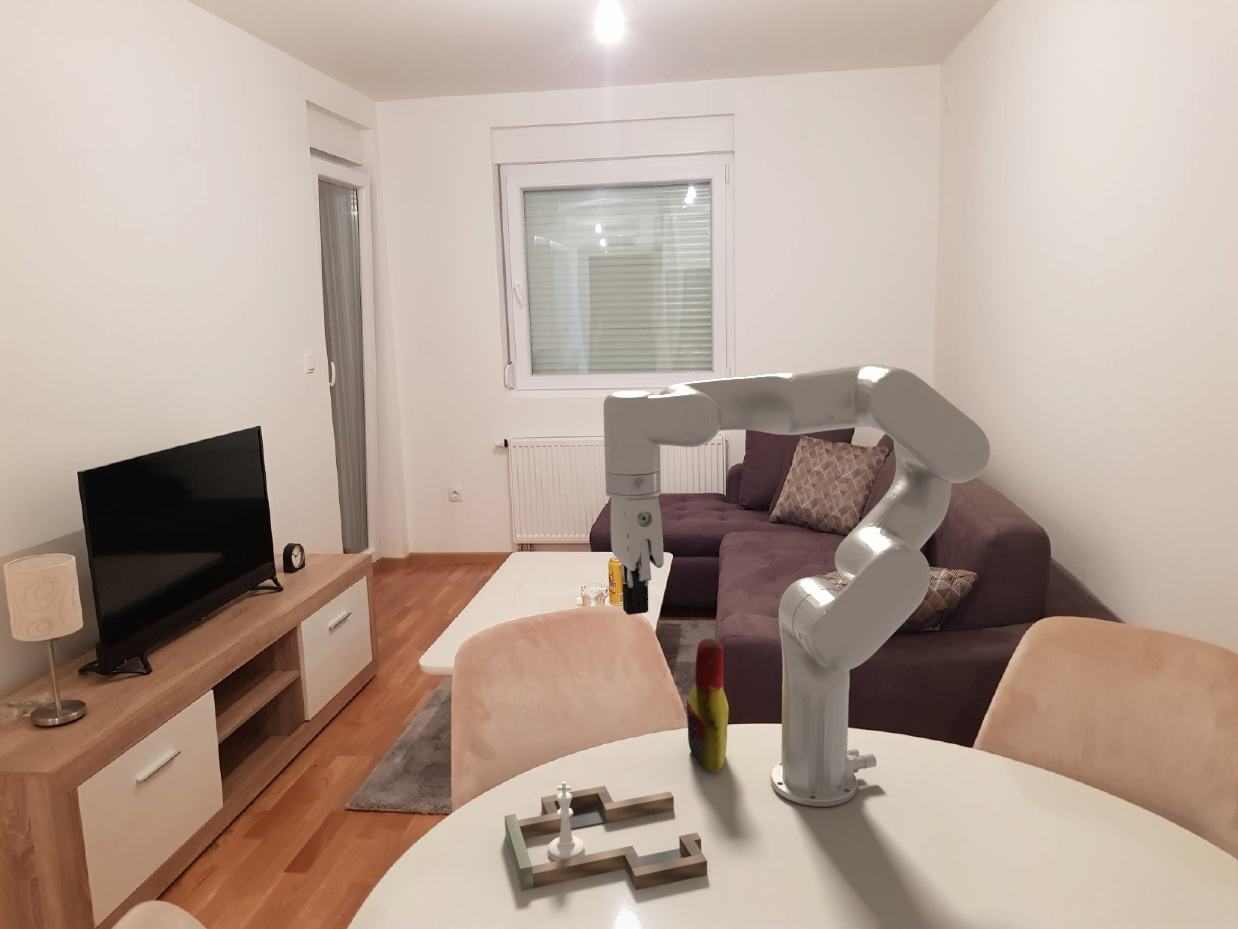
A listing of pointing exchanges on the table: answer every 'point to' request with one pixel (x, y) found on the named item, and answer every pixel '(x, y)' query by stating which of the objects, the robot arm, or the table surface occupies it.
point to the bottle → (708, 708)
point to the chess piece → (565, 830)
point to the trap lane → (598, 810)
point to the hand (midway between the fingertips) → (635, 611)
